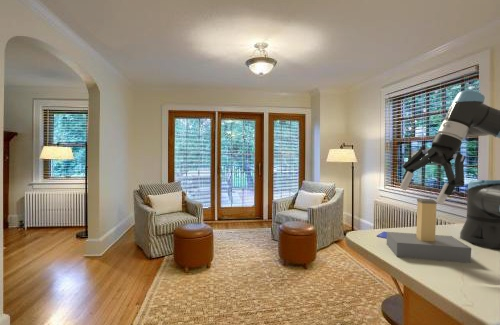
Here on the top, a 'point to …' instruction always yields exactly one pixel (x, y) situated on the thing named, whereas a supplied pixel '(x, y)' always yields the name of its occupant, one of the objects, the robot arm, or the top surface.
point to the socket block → (428, 247)
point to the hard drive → (382, 235)
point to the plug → (426, 220)
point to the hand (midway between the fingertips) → (419, 195)
